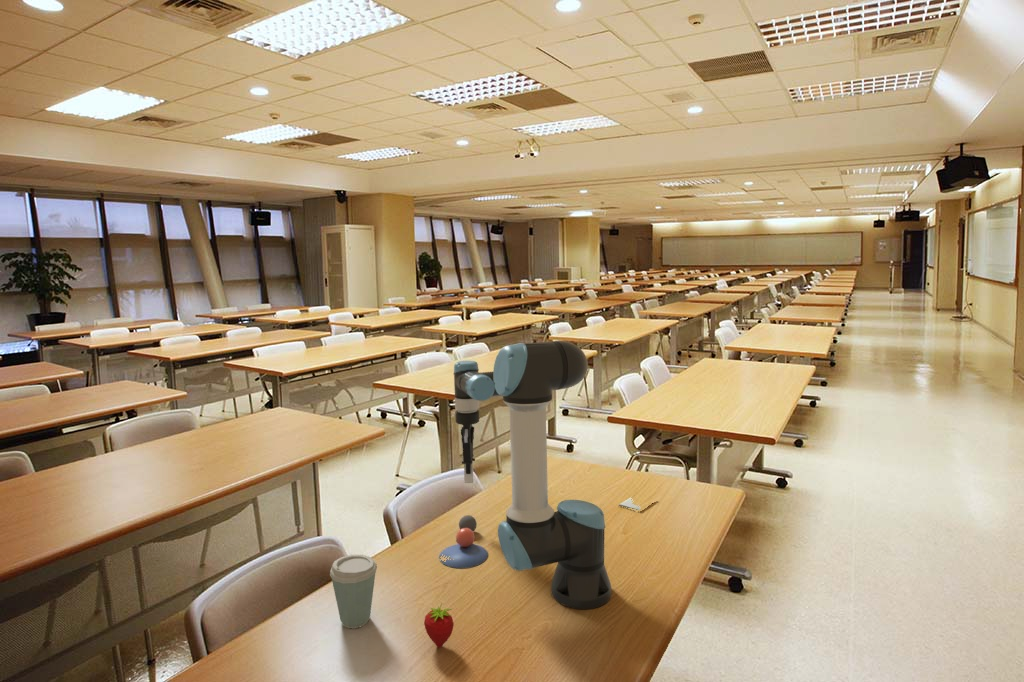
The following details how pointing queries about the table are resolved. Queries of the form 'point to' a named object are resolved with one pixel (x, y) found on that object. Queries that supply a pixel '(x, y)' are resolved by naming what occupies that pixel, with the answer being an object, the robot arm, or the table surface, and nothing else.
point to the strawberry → (439, 625)
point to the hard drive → (630, 504)
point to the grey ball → (468, 522)
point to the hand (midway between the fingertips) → (469, 482)
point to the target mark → (464, 556)
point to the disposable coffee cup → (354, 588)
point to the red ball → (465, 537)
